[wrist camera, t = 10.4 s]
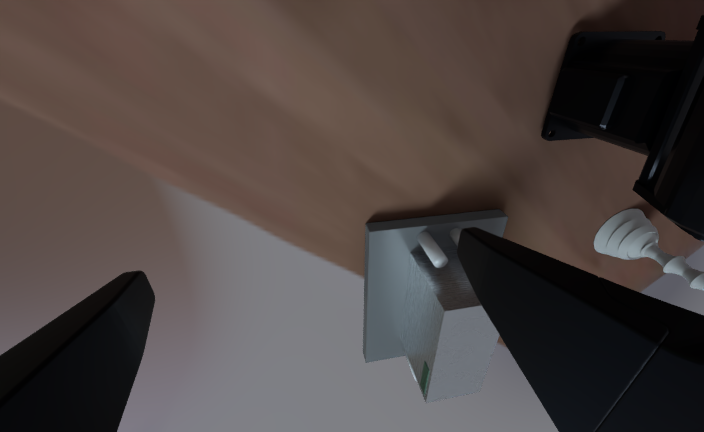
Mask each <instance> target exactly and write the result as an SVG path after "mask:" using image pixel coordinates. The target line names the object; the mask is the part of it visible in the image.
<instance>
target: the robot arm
mask: <svg viewBox="0 0 704 432" xmlns="http://www.w3.org/2000/svg"><path fill="white" fill-rule="evenodd" d="M696 29H697V30H698V32H697V35H696V37H695V40H694V41H677V40H665V33H664V32H662V31H635V32H577V33H575V34H574V35H573V36H572V37H571V39H570V41H569V44H568V47H567V51H566V54H565V57H564V60H563V64H562V67H561V70H560V73H559V77H558V80H557V83H556V87H555V90H554V93H553V96H552V100H551V103H550V106H549V109H548V113H547V116H546V119H545V123H544V126H543V129H542V132H541V136H542V138H543V139H545V140H548V141H554V140H568V139H582V138H597V139H600V140H603V141H606V142H609V143H612V144H614V145H617V146H620V147H623V148H626V149H629V150H632V151H635V152H638V153H641V154H644V155H647V156H648V157H647V160H646V162H645V165H644V167H643V170H642V172H641V175H640V177H639V179H638V180H636V182H635V184H634V187H633V191H635V192H636V193H637V194H638V195H640V196H641V197H642V198H643V199H645V200H646V201H647V202H648V203H650V204H651V205H652V206H653V207H655V208H656V209H657V210H658V211H660V212H661V213H662V214H663V215H665V216H666V217H667V218H668V219H669V220H670V221H672V222H673V223H675V224H676V225H677V226H678V227H680V228H681V229H682V230H684V231H685V232H687V233H688V234H690V235H692V236H693V237H694V238H696V239H698V240H700V241H704V15H702V16H701V18H700V21H699V23H698V26H697V28H696ZM579 39H580V43H579V44H578V41H579ZM550 131H551V133H550V134H549V132H550ZM457 256H458V259H459V261H460V263H461V265H462V267H463V269H464V271H465V274H466V276H467V278H468V280H469V282H470V284H471V286H472V288H473V290H474V293H475V294H476V296H477V298H478V300H479V302H480V304H481V305H482V307H483V309H484V310H485V312H486V313H487V315H488V317H489V318H490V320H491V322H492V323H493V325H494V326H495V328H496V330H497V331H498V333H499V335H500V336H501V338H502V340H503V341H504V343H505V344H506V346H507V348H508V349H509V351H510V352H511V354H512V356H513V357H514V359H515V361H516V362H517V364H518V366H519V367H520V369H521V370H522V372H523V374H524V375H525V377H526V379H527V380H528V382H529V384H530V385H531V387H532V388H533V390H534V392H535V393H536V395H537V397H538V398H539V400H540V401H541V403H542V405H543V406H544V408H545V410H546V411H547V413H548V414H549V416H550V418H551V419H552V421H553V423H554V424H555V426H556V428H557V429H558V431H559V432H704V315H701V314H698V313H695V312H692V311H689V310H686V309H684V308H681V307H678V306H675V305H672V304H669V303H667V302H664V301H661V300H658V299H656V298H653V297H650V296H647V295H644V294H642V293H639V292H637V291H634V290H631V289H629V288H626V287H624V286H621V285H619V284H616V283H614V282H611V281H609V280H606V279H604V278H601V277H599V278H598V276H596V275H594V274H591V273H589V272H586V271H584V270H581V269H579V268H576V267H574V266H571V265H569V264H566V263H564V262H561V261H559V260H556V259H554V258H551V257H549V256H546V255H544V254H541V253H539V252H537V251H534V250H532V249H529V248H527V247H524V246H522V245H519V244H517V243H514V242H512V241H509V240H507V239H504V238H502V237H499V236H497V235H494V234H492V233H489V232H487V231H484V230H482V229H479V228H477V227H469V228H463V229H462V230H461V232H460V236H459V242H458V247H457ZM154 303H155V295H154V292H153V290H152V288H151V285H150V283H149V281H148V279H147V277H146V275H145V273H144V272H143V271H131V272H126V273H123V274H121V275H119V276H118V277H117V278H115V279H114V280H112V281H111V282H109V283H108V284H106V285H105V286H103V287H102V288H100V289H99V290H97V291H96V292H94V293H93V294H91V295H90V296H88V297H87V298H85V299H84V300H82V301H81V302H79V303H78V304H76V305H75V306H73V307H72V308H70V309H69V310H68V311H66V312H64V313H63V314H61V315H60V316H58V317H57V318H56V319H54V320H52V321H51V322H49V323H48V324H47V325H45V326H44V327H42V328H41V329H39V330H38V331H36V332H35V333H33V334H32V335H30V336H29V337H27V338H26V339H24V340H23V341H21V342H20V343H18V344H17V345H15V346H14V347H12V348H11V349H9V350H8V351H6V352H5V353H3V354H2V355H0V432H117V430H118V427H119V424H120V421H121V418H122V415H123V412H124V409H125V406H126V404H127V401H128V398H129V395H130V392H131V389H132V386H133V383H134V380H135V377H136V374H137V372H138V369H139V366H140V363H141V360H142V356H143V353H144V349H145V344H146V339H147V335H148V331H149V326H150V322H151V317H152V312H153V308H154Z"/></svg>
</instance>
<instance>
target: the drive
mask: <svg viewBox="0 0 704 432" xmlns="http://www.w3.org/2000/svg"><path fill="white" fill-rule="evenodd" d="M457 247H458V246H456V247H448V248H440V249H441V250H442V252H443V253H444V254H445V256H446V257H447V259H448V262H447V264H446V265H445V266H443V267H441V268H437V267H435V266H434V265H433V263H432V262H431V260H430V258H429V257H428V255H427V254H426V252H425V251H416V252H410V259H409V268H408V277H407V286H406V295H405V304H404V313H403V322H402V330H401V341H402V343H403V346H404V348H405V351H406V354H407V356H408V359H409V361H410V364H411V366H412V369H413V372H414V374H415V377H416V379H417V382H418V384H419V387H420V390H421V392H422V394H423V397H424V400H425V402H426V403H429V402H434V401H438V400H443V399H448V398H453V397H458V396H462V395H467V394H472V393H477V392H480V389H481V386H482V383H483V380H484V377H485V374H486V372H487V369H488V366H489V363H490V360H491V358H492V354H493V351H494V349H495V346H496V343H497V341H498V338H499V333H498V331H497V330H496V328H495V326H494V325H493V323H492V322H491V320H490V318H489V317H488V315H487V313H486V312H485V310H484V309H483V307H482V305H481V304H480V302H479V300H478V298H477V296H476V294H475V293H474V290H473V288H472V286H471V284H470V282H469V280H468V278H467V276H466V274H465V271H464V269H463V267H462V265H461V263H460V261H459V259H458V256H457Z"/></svg>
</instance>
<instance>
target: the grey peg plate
mask: <svg viewBox="0 0 704 432" xmlns="http://www.w3.org/2000/svg"><path fill="white" fill-rule="evenodd" d="M507 219H508V216H507V215H506V214H505V213H503V212H502V211H501V210H500V209H495V210H485V211H476V212H467V213H457V214H448V215H439V216H429V217H420V218H411V219H402V220H392V221H383V222H374V223H366V232H365V280H364V328H363V329H364V330H363V331H364V332H363V354H364V358H365V362H366V363H367V362H372V361H378V360H383V359H389V358H394V357H400V356H406V358H407V361H408V363H409V366H410V368H411V371H412V374H413V376H414V379H415V380H416V381H417V379H416V377H415V374H414V372H413V369H412V366H411V364H410V361H409V359H408V356H407V354H406V351H405V348H404V346H403V343H402V341H401V330H402V322H403V313H404V304H405V295H406V286H407V277H408V268H409V259H410V252H416V251H425V252H426V254H427V255H428V257H429V258H430V260H431V262H432V263H433V265H434V266H435V267H437V268H441V267H443V266H445V265H446V264H447V262H448V259H447V257H446V256H445V254H444V253H443V252H442V250H441V249H440V248H448V247H456V246H458V242H459V236H460V232H461V230H462V229H463V228H469V227H477V228H479V229H482V230H484V231H487V232H489V233H492V234H494V235H497V236H499V237H502V236H503V233H504V230H505V226H506V223H507Z"/></svg>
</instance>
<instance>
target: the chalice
mask: <svg viewBox="0 0 704 432" xmlns="http://www.w3.org/2000/svg"><path fill="white" fill-rule="evenodd" d="M658 239H659V235H658V232H657V229H656V227H654V226H652V224H651V222H650V220H649V219H647V218H646V217H645V215H644V213H643V211H641V210H639V209H628V210H624V211H622V212H620V213H618V214H616V215H614V216H613V217H612V218H610V219H609V220H608V221H606V223H605V224H604V225H603V226H602V227H601V228H600V230H599V231H598V233H597V234H596V237H595V240H594V248H595V249H596V251H597V252H599V253H602V254H609V255H611V256H613V257H620V258H622V259H639V258H641V257H650V258H652V259H655V260H656V261H657V262H658V263H659V264H661V265H662V266H663V271H664V272H665V273H675V274H678V275H681V276H683V277H684V278H685V279H686V280H687V281H688V282H689V285H690V287H691V288H696V289H701V290H703V291H704V272H701V271H698V270H695V269H692V268H691V267H690V266H689V265H688V264H687V263H686V261H685V257H683V256H672V255H670V254H667V253H664V252H663V251H662V250H661V249H660V248H659V247H658V243H657V242H658Z"/></svg>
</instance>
